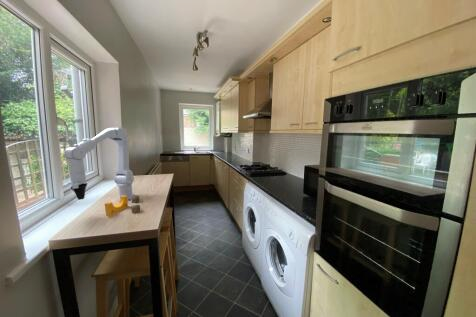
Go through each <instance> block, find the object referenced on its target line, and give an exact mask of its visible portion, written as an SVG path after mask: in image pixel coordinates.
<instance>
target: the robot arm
mask: <svg viewBox="0 0 476 317" xmlns="http://www.w3.org/2000/svg"><path fill="white" fill-rule="evenodd" d="M106 139H109V140H111V141H114V142H116V143H117V144H118V145H117V148H118V152H117V153H118V156H117V158H118V168H117V169H118V170H116V172H115V175H114V183H116V186H117V187H118V195H119V196H118V202H119V201H120V197H121V196H123V195H124V196H127V200H128V201H130V200H132V199H131V197H133V196H134V195H135V194H134V193H133V183H134V181H135V177H134V173H133V171H132V170H131V169H130V154H129V151H130V148H129V146H130V144H129V138H128V131H127V130H126V128H124V127H121V126H120V127H107V128H105V129H103V130H102V131H101V132H100V133H98V134H96V136H94V137H92V138H83V139H81V141H80V142H79V143H75V144H73V146H72V147H67V148H65V150H64V153H63V154H62V155H63V157H64V158H65V159H66V161H67V164H68V167H67V168H68V171H69V178H70V181H67V184H68V185H71V187H70V189H71V190H72V191H73V192H74V194H75V196H76V198H77V200H78V201H80V200H85V197H86V196H85V195H86V190H87V189H86V188H87V186H88V183H87V182H88V181H87V176H86V170H85V161H84V159H85V157H86V155H87V154H89V153H90V152H91V151H93V150H94V149H96V148H97V145H98V144H99V143H102V142H103V141H105V140H106Z"/></svg>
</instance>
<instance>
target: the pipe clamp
mask: <svg viewBox="0 0 476 317" xmlns="http://www.w3.org/2000/svg"><path fill="white" fill-rule="evenodd" d="M128 201H129V200H127V196H124V195H123V196H121V197H120V201H119V200H118V202H116V203H115V204H113V202H110V201H107V202H106V203H104V209H105V215H106V217H107V216H108V217H112V216H113V215H115V214H117V213H119V212H121V211H123V210H124V209H126V208H128V207H129V202H128Z"/></svg>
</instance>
